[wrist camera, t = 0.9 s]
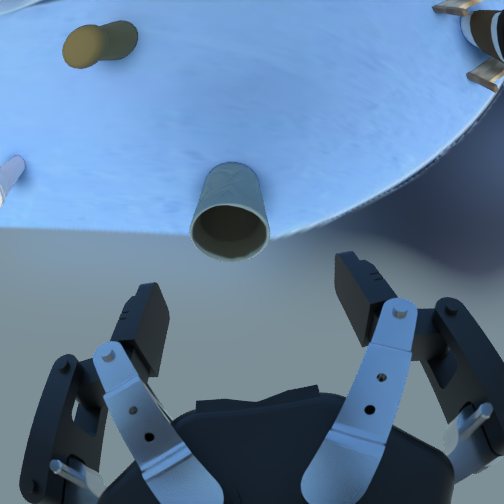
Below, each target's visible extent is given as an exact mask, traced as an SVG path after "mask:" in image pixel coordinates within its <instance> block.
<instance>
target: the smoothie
mask: <svg viewBox="0 0 504 504" xmlns="http://www.w3.org/2000/svg"><path fill="white" fill-rule="evenodd" d="M24 170H25V161H24V159H23V158H22V157H21V156H19V155H16V156H14V157H13V158H11V159H10V160H8V161H7V162H6V163H4V164H3V165H1V166H0V207H1V206H2V205H3V204H4V202H5V198H6V196H7V195H8V193H9V192H10V190H11V189H12V187H13V186H14V184H15V183H16V181H17V180H18V178H19V177H20V175H21V174H22V172H23V171H24Z"/></svg>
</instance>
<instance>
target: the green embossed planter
mask: <svg viewBox="0 0 504 504" xmlns="http://www.w3.org/2000/svg"><path fill="white" fill-rule="evenodd" d="M190 238H191V241H192V243H193V245H194V246H195V247H196V249H197V250H198V251H199V252H201V253H202V254H203V255H205V256H207V257H209V258H211V259H214V260H217V261H223V262H240V261H245V260H248V259H251V258H253V257H255V256H256V255H258V254H259V253H260V252H261V251H263V249H264V248H265V247H266V246H267V244H268V241H269V238H270V228H269V224H268V220H267V216H266V213H265V207H264V204H263V198H262V194H261V191H260V186H259V182H258V179H257V176H256V174H255V173H254V172H253V171H252V170H251V169H250V168H249V167H247V166H246V165H243V164H240V163H236V162H227V163H223V164H220V165H218V166H216V167H215V168H214V169H212V170H211V171H210V173H209V174H208V176H207V177H206V180H205V183H204V186H203V190H202V193H201V195H200V198H199V203H198V205H197V208H196V211H195V214H194V216H193V219H192V222H191V225H190Z"/></svg>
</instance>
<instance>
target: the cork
mask: <svg viewBox="0 0 504 504" xmlns="http://www.w3.org/2000/svg"><path fill="white" fill-rule="evenodd" d="M137 40H138V32H137V30H136V27H135V26H134V25H133V24H132V23H130V22H127V21H116V22H112V23H109V24H106V25H102V26H97V25H84V26H81V27H79V28H77V29H76V30H74V31H73V32H71V34H70V35H69V36H68V37H67V39H66V41H65V43H64V45H63V50H62V52H63V58H64V60H65V62H66V63H67V64H68V65H69V66H71V67H73V68H79V69H83V68H87V67H90V66H92V65H93V64H95V63H97V62H98V61H103V60H117V59H122V58H124V57H126V56H127V55H128V54H130V53H131V52H132V51H133V49H134V48H135V46H136V43H137Z"/></svg>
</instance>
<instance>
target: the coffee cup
mask: <svg viewBox="0 0 504 504" xmlns="http://www.w3.org/2000/svg"><path fill="white" fill-rule="evenodd" d="M467 13H468V15H467V16H465V17H464V16H462V17H461V22H460V23H461V29H462V32H463V34H464V36H465V37H466V39H467V40H468V41H469V42H470V43H471V44H473V45H474V46H476V47H478V48H479V49H481V50H482V51H483V52H485V53H487V54H489V55H490V56H492V57H494V58H495V59H497V60H499V61H500V62H502V63H503V64H504V10H502V11H498V10H478V11H470V12H467Z"/></svg>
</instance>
